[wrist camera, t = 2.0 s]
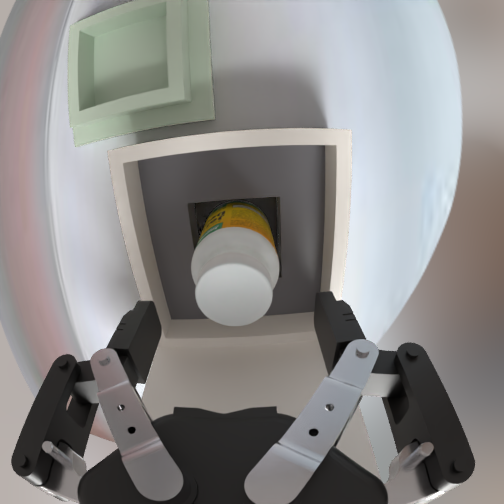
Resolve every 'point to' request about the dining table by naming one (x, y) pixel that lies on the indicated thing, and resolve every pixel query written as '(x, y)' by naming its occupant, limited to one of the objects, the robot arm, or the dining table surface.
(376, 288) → the dining table surface
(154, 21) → the sage holder
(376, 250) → the dining table surface
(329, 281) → the case
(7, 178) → the dining table surface
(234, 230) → the supplement bottle
